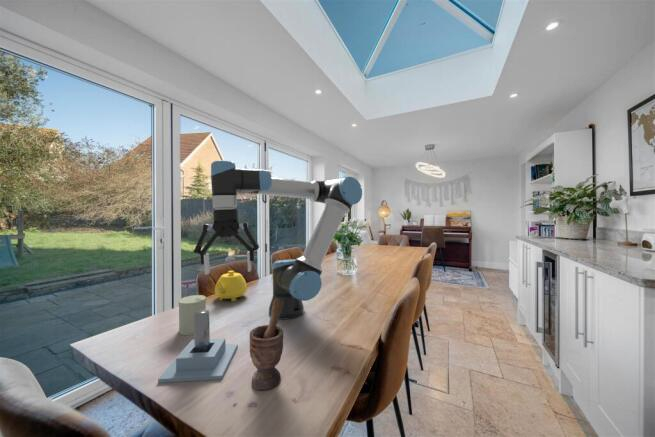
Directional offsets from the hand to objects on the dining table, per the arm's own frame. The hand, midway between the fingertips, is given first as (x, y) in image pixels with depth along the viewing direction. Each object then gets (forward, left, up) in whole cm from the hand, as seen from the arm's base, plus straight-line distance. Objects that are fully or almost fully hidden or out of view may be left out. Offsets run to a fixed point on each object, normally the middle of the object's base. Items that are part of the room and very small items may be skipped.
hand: (228, 272), depth 84 cm
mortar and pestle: (-15, +19, -24) cm, 34 cm away
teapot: (+13, -43, -24) cm, 51 cm away
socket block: (+5, +11, -24) cm, 27 cm away
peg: (+5, +11, -23) cm, 26 cm away
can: (+17, -11, -24) cm, 31 cm away
